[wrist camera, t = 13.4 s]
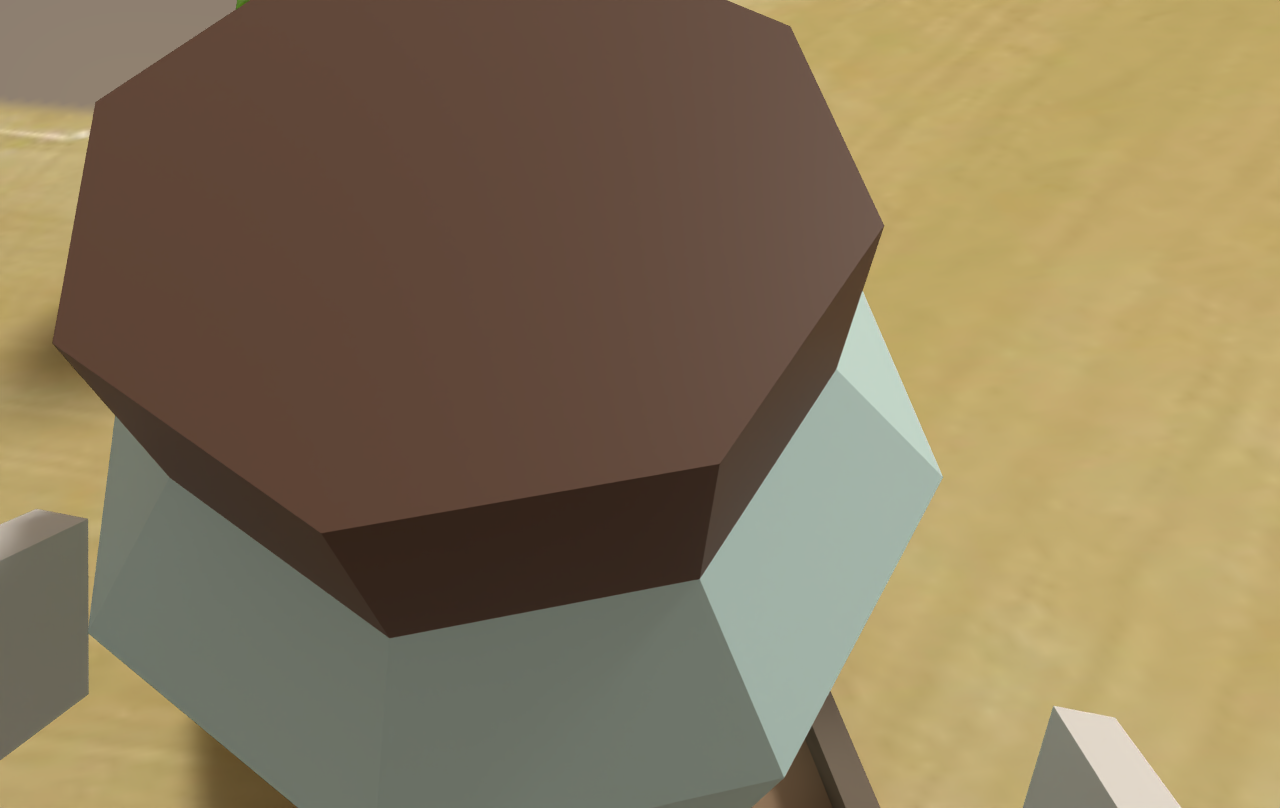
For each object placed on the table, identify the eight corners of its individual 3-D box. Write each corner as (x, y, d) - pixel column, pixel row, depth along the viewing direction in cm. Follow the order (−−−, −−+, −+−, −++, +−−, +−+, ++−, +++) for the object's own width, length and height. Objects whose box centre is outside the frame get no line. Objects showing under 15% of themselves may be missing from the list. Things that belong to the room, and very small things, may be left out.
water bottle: (622, 542, 32) (638, -232, 11) (794, 784, 28) (1382, 303, 6) (374, 696, 29) (-300, 40, 8) (525, 995, 25) (-39, 1397, 3)
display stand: (329, 611, 33) (292, 570, 30) (714, 499, 36) (726, 448, 32) (401, 1113, 26) (363, 1146, 22) (885, 919, 29) (927, 917, 25)
